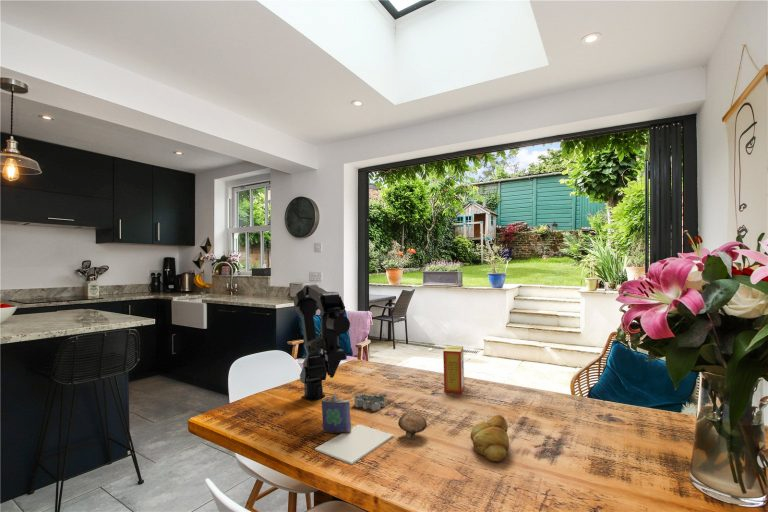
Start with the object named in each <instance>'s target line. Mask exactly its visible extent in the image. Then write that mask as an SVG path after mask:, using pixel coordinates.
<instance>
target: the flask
mask: <svg viewBox="0 0 768 512" xmlns="http://www.w3.org/2000/svg"><path fill="white" fill-rule="evenodd" d="M338 397H339V396H338V394H337V393H334V394H331V398H330V397H326V398H324V399H323V398H322V400H321V415H322V416H321V417H322V431H323V432H324V433H328V434H329V433H330V434H342V433H343V434H345V433H350V431H351V428H352V420H351V419H352V418H351V403H350V400H349V399H338Z"/></svg>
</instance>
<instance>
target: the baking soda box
mask: <svg viewBox="0 0 768 512" xmlns="http://www.w3.org/2000/svg"><path fill="white" fill-rule="evenodd" d="M442 354H443V359H442V360H443V390H444V391H443V393H450V394H462V393H463V390H464V388H465V367H464V366H465V365H464V361H465V359H464V346H460V345H459V346H458V345H446V347H444V349H443V352H442Z"/></svg>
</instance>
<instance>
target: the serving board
mask: <svg viewBox="0 0 768 512" xmlns="http://www.w3.org/2000/svg"><path fill="white" fill-rule="evenodd" d="M394 436H395V435H394V434H392V433H388V432H385V431H381V430H378V429H375V428H372V427H368V426H365V425H362V424H357V425H354V426H353V427H351V431H350V433H345V434H343V433H339V434H338V435H337V436H335V437H333V438H331V439H329V440H328V441H326V442H324V443H322V444H321V445H318V446H317V447H315V448H314V451H316V452H318V453H321V454H325V455H327V456H328V457H332V458H334V459H337V460H339V461H341V462H344V463H347V464H349V465H354V464H355V463H357V462H358V461H359V460H361V459H362V458H364V457H365V456H367V455H369V454H370V453H372V452H373V451H374V450H376V449H377V448H379V447H381V446H383V444H384V443H387V442H388V441H389V440H391V439H392V438H394Z"/></svg>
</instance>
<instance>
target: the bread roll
mask: <svg viewBox="0 0 768 512" xmlns="http://www.w3.org/2000/svg"><path fill="white" fill-rule="evenodd" d="M508 426H509V425H508V422H507V420H506V418H505V417H504V416H502V415H500V414H496V415H493V416H491V417H490V418H489V419H487V420H486V422H484V421H482V422H480V423H476V424H475V425H474V426H472V429H471V431H470V440H471V441H472V445H473V447H474V449H475V451H476V453H478V454H480V455H481V456H484V457H485V458H486V459H487V460H488V461H489V460H490V461H493V462H501V461H503V460H505V458H506V456H507V452H508V451H509V449H510V440H509V439H510V438H509V435H508Z"/></svg>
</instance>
